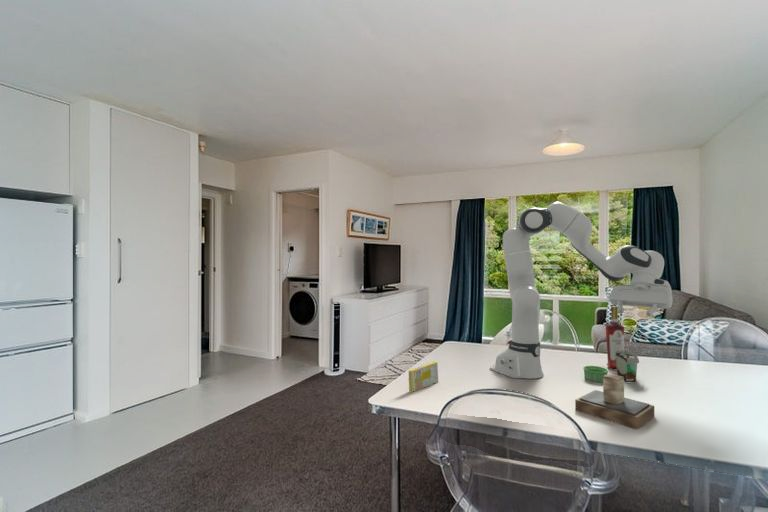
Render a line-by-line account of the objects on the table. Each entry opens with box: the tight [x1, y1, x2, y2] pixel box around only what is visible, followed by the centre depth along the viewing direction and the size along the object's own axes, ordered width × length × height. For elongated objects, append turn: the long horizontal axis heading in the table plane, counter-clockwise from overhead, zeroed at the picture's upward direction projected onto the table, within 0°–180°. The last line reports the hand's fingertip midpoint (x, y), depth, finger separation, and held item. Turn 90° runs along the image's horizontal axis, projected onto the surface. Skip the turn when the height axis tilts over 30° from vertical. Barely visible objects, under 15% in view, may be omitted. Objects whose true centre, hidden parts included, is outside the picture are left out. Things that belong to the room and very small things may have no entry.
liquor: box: [605, 305, 626, 370], centre depth 170 cm, size 7×7×28 cm
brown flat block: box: [574, 389, 655, 430], centre depth 122 cm, size 18×14×4 cm
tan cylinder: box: [602, 373, 625, 405], centre depth 122 cm, size 4×4×8 cm
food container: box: [615, 351, 640, 383], centre depth 155 cm, size 12×6×10 cm, turn 168°
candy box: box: [408, 361, 439, 393], centre depth 150 cm, size 16×2×8 cm, turn 134°
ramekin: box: [582, 365, 609, 383], centre depth 156 cm, size 9×9×4 cm
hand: (634, 313), depth 141 cm, fingers open, 8 cm apart
